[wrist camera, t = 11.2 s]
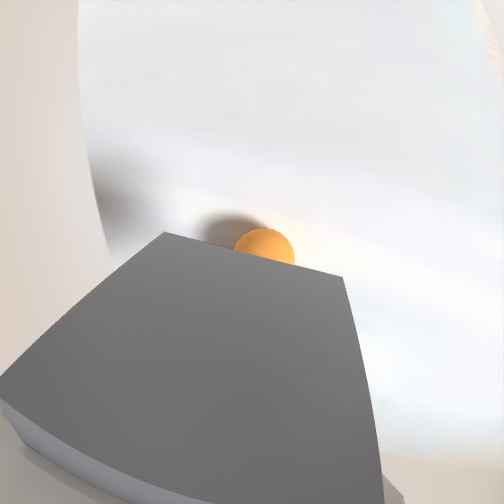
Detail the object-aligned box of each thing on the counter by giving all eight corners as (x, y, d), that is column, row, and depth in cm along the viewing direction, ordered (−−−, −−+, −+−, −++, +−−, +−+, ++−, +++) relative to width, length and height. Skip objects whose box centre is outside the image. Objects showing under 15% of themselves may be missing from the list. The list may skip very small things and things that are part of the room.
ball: (210, 265, 22) (230, 224, 26) (243, 307, 25) (256, 265, 28) (271, 251, 20) (283, 208, 23) (299, 299, 22) (306, 254, 26)
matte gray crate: (164, 232, 11) (-11, 388, 3) (342, 277, 11) (386, 516, 3) (156, 360, 14) (75, 503, 6) (291, 397, 14) (271, 563, 6)
